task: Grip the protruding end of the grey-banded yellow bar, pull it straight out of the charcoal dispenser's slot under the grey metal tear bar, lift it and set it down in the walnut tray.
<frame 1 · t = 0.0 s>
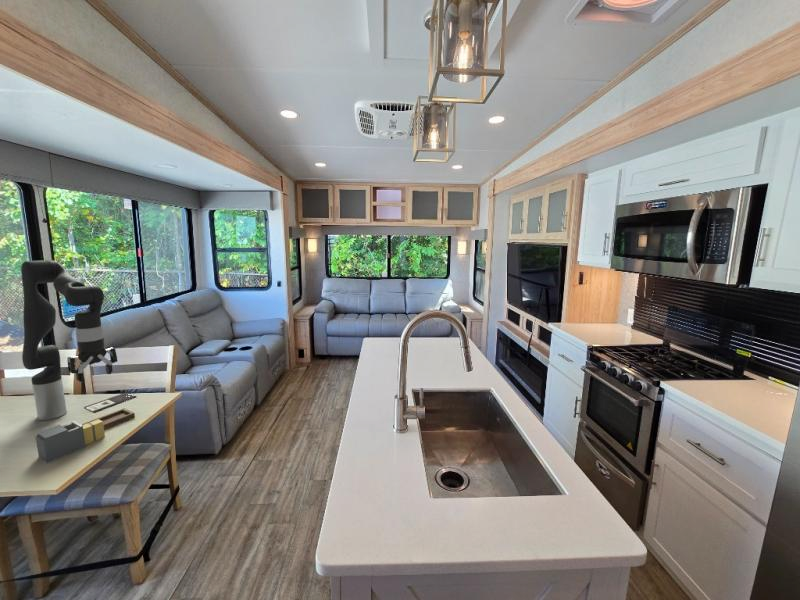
hand: (95, 377, 128), 29 cm above the table, fingers open, 8 cm apart
dispenser: (64, 450, 128), on the table
tray: (106, 423, 147), on the table
grey-banded yellow bar: (83, 443, 133), on the table
chocolate bar: (111, 403, 166), on the table
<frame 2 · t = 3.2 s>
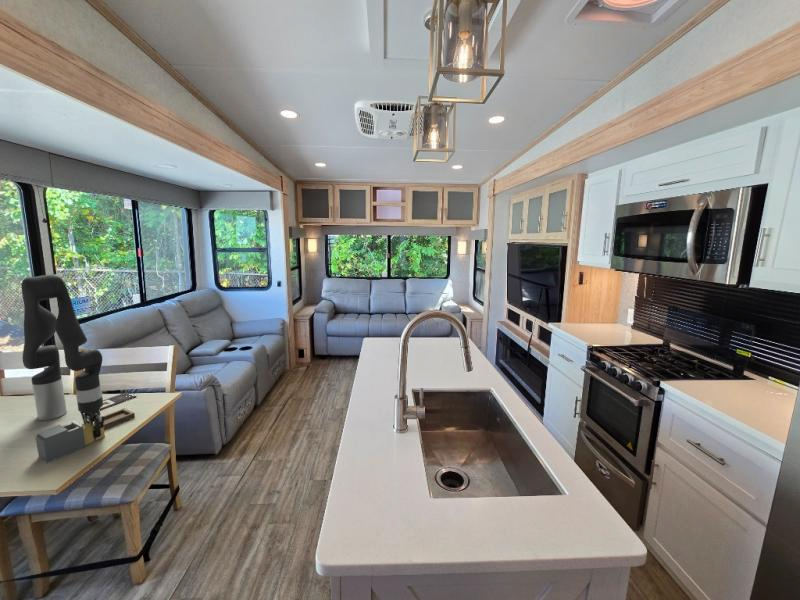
hand: (94, 435, 137), 1 cm above the table, fingers closed on grey-banded yellow bar, 3 cm apart
grey-banded yellow bar: (83, 443, 133), on the table, touching gripper
everything else where it was.
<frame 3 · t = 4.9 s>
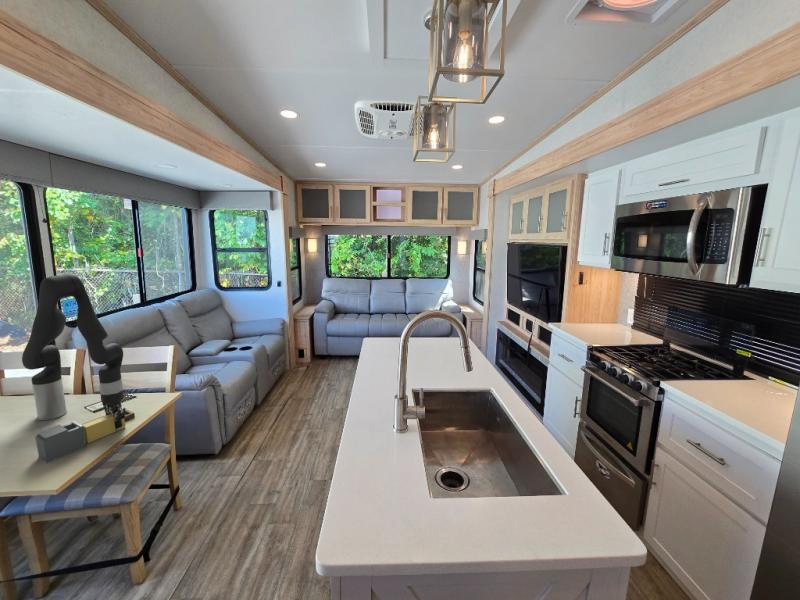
hand: (116, 426, 143), 2 cm above the table, fingers closed on grey-banded yellow bar, 3 cm apart
grey-banded yellow bar: (105, 433, 140), on the table, touching gripper
everything else where it was.
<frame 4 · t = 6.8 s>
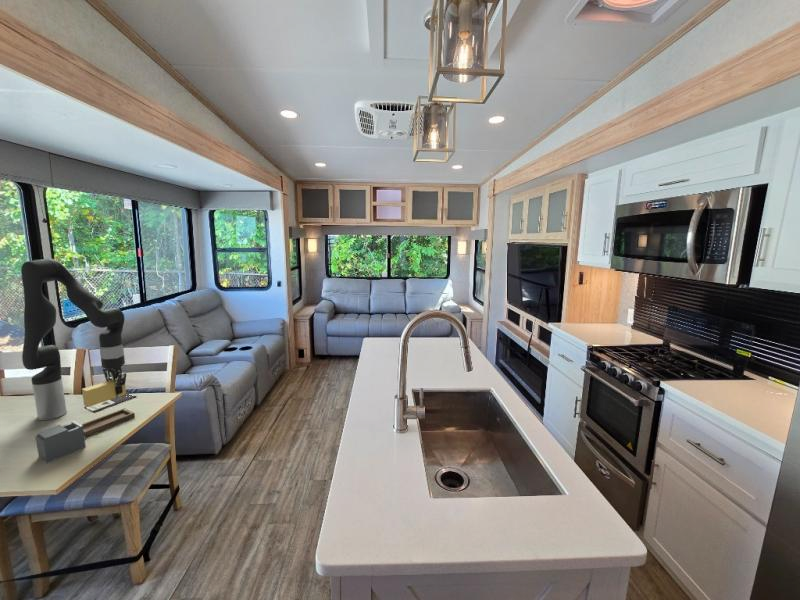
hand: (116, 392, 142), 17 cm above the table, fingers closed on grey-banded yellow bar, 3 cm apart
grey-banded yellow bar: (105, 399, 139), point 15 cm above the table, touching gripper
everything else where it was.
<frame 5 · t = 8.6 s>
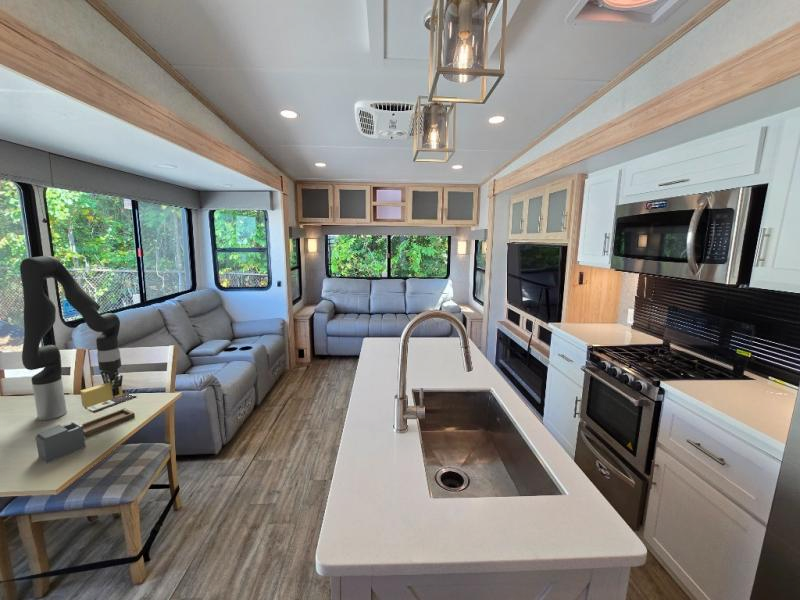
hand: (113, 393, 148), 13 cm above the table, fingers closed on grey-banded yellow bar, 3 cm apart
grey-banded yellow bar: (103, 400, 145), point 12 cm above the table, touching gripper
everything else where it was.
when the fingers open (4 cm above the table, at t = 10.2 s): grey-banded yellow bar drops 1 cm, resting on tray.
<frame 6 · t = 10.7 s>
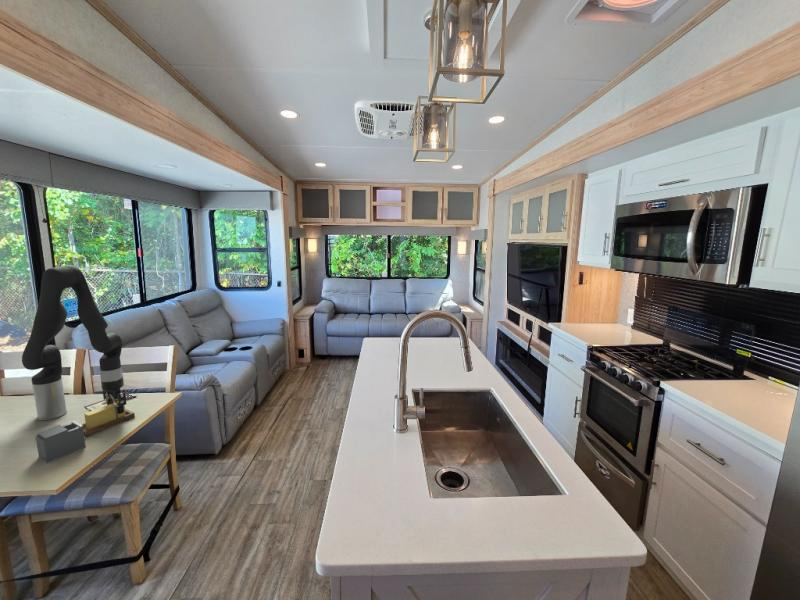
hand: (116, 410, 150), 5 cm above the table, fingers open, 8 cm apart
grey-banded yellow bar: (106, 422, 147), point 1 cm above the table, touching tray
everything else where it was.
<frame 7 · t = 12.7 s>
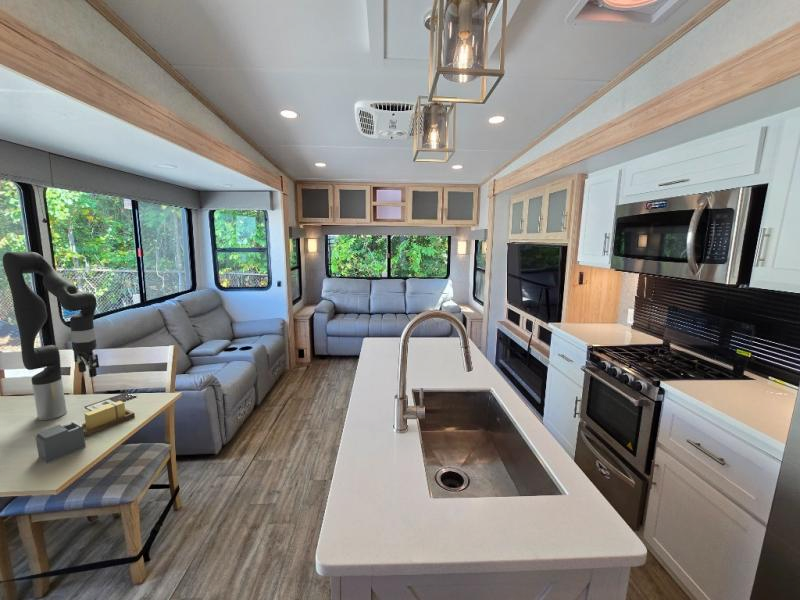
hand: (87, 374, 143), 24 cm above the table, fingers open, 8 cm apart
nothing on the table moved.
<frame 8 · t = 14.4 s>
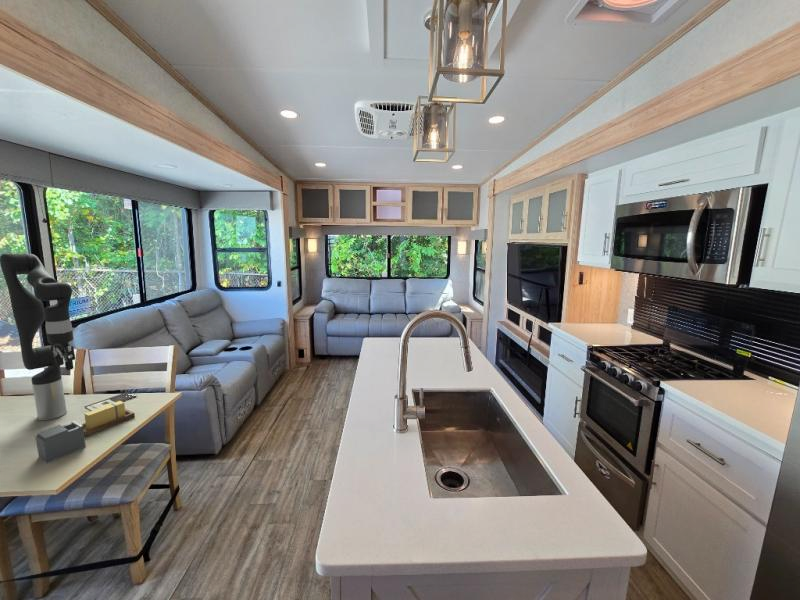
hand: (64, 367, 138), 28 cm above the table, fingers open, 8 cm apart
nothing on the table moved.
at the end: grey-banded yellow bar inside the target area on the tray (0.2 cm from its centre), point 0.8 cm above the tray's base; grey-banded yellow bar touching tray; the gripper is holding nothing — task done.
